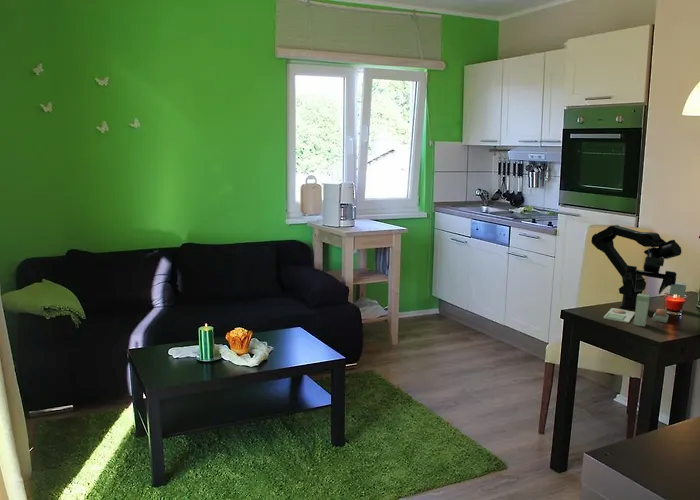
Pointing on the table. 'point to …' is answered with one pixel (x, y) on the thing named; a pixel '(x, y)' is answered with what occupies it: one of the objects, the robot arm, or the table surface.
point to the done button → (661, 312)
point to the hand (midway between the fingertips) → (646, 291)
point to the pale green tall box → (641, 309)
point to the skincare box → (678, 289)
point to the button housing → (660, 318)
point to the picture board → (619, 315)
